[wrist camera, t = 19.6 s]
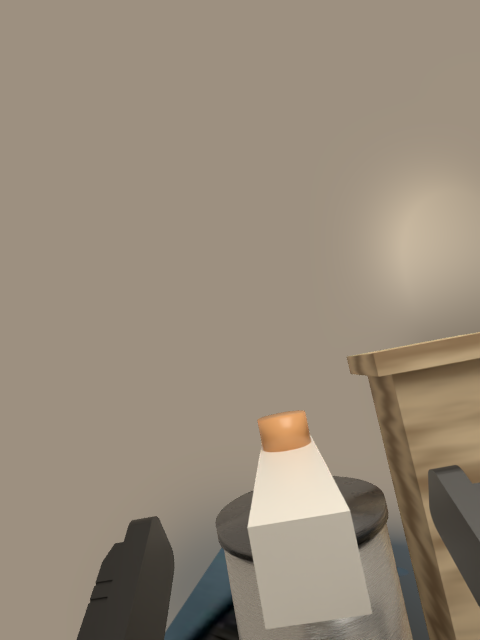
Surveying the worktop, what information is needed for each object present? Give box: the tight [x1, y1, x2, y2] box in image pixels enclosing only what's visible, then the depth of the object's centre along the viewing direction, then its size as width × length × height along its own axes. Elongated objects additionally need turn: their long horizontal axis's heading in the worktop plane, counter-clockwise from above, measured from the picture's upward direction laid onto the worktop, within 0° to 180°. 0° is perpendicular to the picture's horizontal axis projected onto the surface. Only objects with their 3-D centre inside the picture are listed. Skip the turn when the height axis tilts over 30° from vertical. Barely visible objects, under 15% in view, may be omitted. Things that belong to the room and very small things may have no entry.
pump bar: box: [247, 411, 373, 629], centre depth 26 cm, size 20×4×6 cm, turn 174°
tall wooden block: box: [347, 332, 480, 640], centre depth 35 cm, size 12×12×32 cm
